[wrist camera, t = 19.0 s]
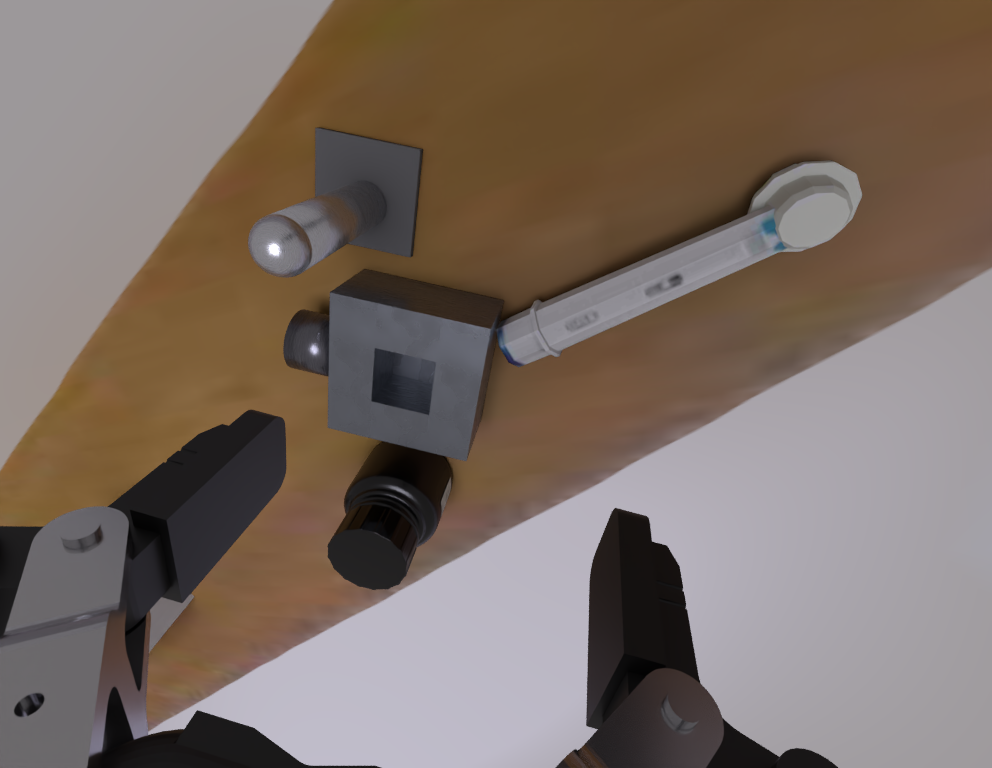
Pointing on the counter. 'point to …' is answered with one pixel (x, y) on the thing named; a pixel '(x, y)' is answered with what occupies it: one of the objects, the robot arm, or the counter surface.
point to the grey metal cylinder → (315, 228)
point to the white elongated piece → (691, 261)
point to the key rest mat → (382, 166)
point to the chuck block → (401, 360)
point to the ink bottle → (389, 514)
